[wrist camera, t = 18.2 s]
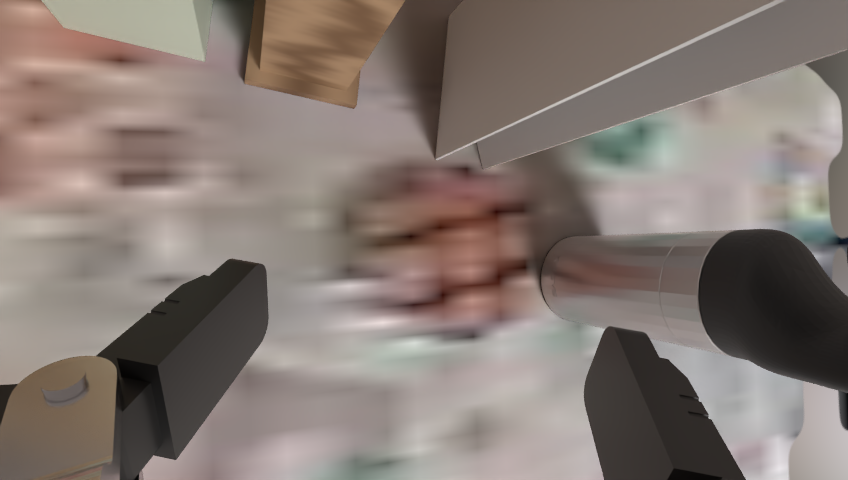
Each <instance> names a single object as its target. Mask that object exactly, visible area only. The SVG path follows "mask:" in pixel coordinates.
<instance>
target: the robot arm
mask: <svg viewBox="0 0 848 480" xmlns="http://www.w3.org/2000/svg"><path fill="white" fill-rule="evenodd" d="M847 261H848V247H847ZM541 286H542V291H543V295H544V298H545V300H546V302H547V304H548V306H549V307H550V309H551V310H552V311H553V312H554V313H555V314H556V315H558V316H559V317H561V318H562V319H566V320H569V321H573V322H578V323H582V324H587V325H591V326H595V327H599V328H604V329H605V331H604V333H603V335H602V338H601V340H600V343H599V345H598V348H597V351H596V353H595V356H594V359H593V361H592V364H591V367H590V369H589V372H588V374H587V377H586V381H585V387H584V402H585V407H586V411H587V415H588V419H589V422H590V426H591V430H592V434H593V438H594V442H595V446H596V449H597V453H598V457H599V461H600V465H601V469H602V472H603V476H604V480H746V479H745V477H744V476H743V474H742V472H741V470H740V469H739V467H738V465H737V463H736V462H735V460H734V458H733V456H732V455H731V453H730V451H729V450H728V448H727V446H726V444H725V443H724V441H723V439H722V437H721V436H720V434H719V432H718V430H717V429H716V427H715V425H714V423H713V422H712V420H711V419H708V413H707V411H706V410H705V408H704V406H703V404H702V403H701V402H699V401H698V399H699V397H698V396H697V394H696V392H695V390H694V389H693V387H692V385H691V384H690V382H689V380H688V378H687V377H686V376H685V375H684V374H683V373H682V372H681V371H680V370H678V369H677V368H676V367H675V366H674V365H673V364H672V363H671V362H670V361H669V360H668V359H664V358H659V356H658V354H657V352H656V350H655V348H654V346H653V344H652V343H651V341H650V339H654V340H659V341H663V342H668V343H673V344H677V345H682V346H686V347H691V348H696V349H701V350H705V351H710V352H715V353H719V354H724V355H728V356H733V357H736V358H741V359H745V360H749V361H751V362H753V363H755V364H756V365H758V366H760V367H762V368H764V369H766V370H768V371H771V372H774V373H777V374H780V375H783V376H787V377H790V378H794V379H798V380H802V381H806V382H810V383H813V384H817V385H821V386H825V387H828V388H832V389H835V390H839V391H842V392H846V393H848V297H847V296H846V295H845V294H844V293H843V292H842V291H841V290H840V289H839V288H838V287H837V286H836V285H835V284H834V283H833V282H832V280H831V279H830V278H829V277H828V275H827V274H826V273H825V271H824V270H823V268H822V267H821V266H820V264H819V263H818V261H817V260H816V259H815V257H814V255H813V254H812V253H811V252H810V250H809V249H808V248H807V247H806V246H805V245H804V244H803V243H802V242H801V241H799V240H798V239H797V238H795V237H794V236H792V235H790V234H788V233H785V232H782V231H778V230H772V229H752V230H729V231H703V232H681V233H655V234H628V235H597V236H574V237H568V238H565V239H562V240H561V241H559V242H558V243H557V244H555V245H554V246H553V248H552V249H551V250H550V251H549V253H548V255H547V256H546V258H545V261H544V264H543V267H542V273H541ZM267 326H268V297H267V275H266V269H265V266H264V265H263V264H259V263H254V262H248V261H242V260H236V259H229V260H227V261H226V262H225V263H224V264H222V265H221V266H220V267H219V268H218V269H217V270H216V271H214V272H213V273H212V274H211V275H210V276H206V275H203V276H201V277H199V278H196V279H194V280H192V281H190V282H187V283H185V284H183V285H181V286H180V287H179V288H177V289H176V290H175V291H174V292H173V293H171V294H170V295H169V296H168V297H167V298H165V301H164V302H161V303H159V304H158V305H157V306H156V307H154V308H153V309H152V310H151V313H147V314H146V315H145V316H144V317H142V318H141V319H140V320H139V321H138V322H136V323H135V324H134V325H133V326H132V327H130V328H129V329H128V330H127V331H126V332H124V333H123V334H122V335H121V336H120V337H118V338H117V339H116V340H115V341H114V342H112V343H111V344H110V345H109V346H107V347H106V348H105V349H104V350H103V351H101V352H100V353H99V354H98V355H97V356H79V357H73V358H68V359H64V360H60V361H57V362H54V363H52V364H49V365H47V366H44V367H42V368H41V369H39V370H37V371H35V372H33V373H32V374H30V375H29V376H27V377H26V378H25V379H23V380H22V381H21V382H20V383H19V384H12V385H0V480H144V478H143V472H142V469H143V468H144V466H145V465H146V464H147V463H148V461H149V460H150V459H151V457H152V456H153V455H155V456H159V457H164V458H169V459H174V460H176V459H177V458H178V457H179V455H180V454H181V452H182V451H183V450H184V448H185V447H186V446H187V444H188V443H189V441H190V440H191V439H192V437H193V436H194V435H195V433H196V432H197V430H198V429H199V428H200V426H201V425H202V424H203V422H204V421H205V419H206V418H207V417H208V415H209V414H210V413H211V411H212V410H213V408H214V407H215V406H216V404H217V403H218V402H219V400H220V399H221V397H222V396H223V395H224V393H225V392H226V390H227V389H228V388H229V386H230V385H231V384H232V382H233V381H234V379H235V378H236V377H237V375H238V374H239V373H240V371H241V370H242V368H243V367H244V366H245V364H246V363H247V362H248V360H249V359H250V357H251V356H252V355H253V353H254V352H255V351H256V349H257V348H258V346H259V345H260V344H261V342H262V340H263V338H264V336H265V333H266V330H267ZM649 338H650V339H649Z"/></svg>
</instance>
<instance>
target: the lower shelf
mask: <svg viewBox="0 0 848 480" xmlns="http://www.w3.org/2000/svg"><path fill="white" fill-rule="evenodd" d="M42 2H43V3H44V4H45V5H46V6H47V8H48V9H49V10H50V11H51V13H52V14H53V15H54V16H55V18H56V19H57V20H58V21H59V22H60V24H61V25H62V26H63V27H64V28H67V29H71V30H75V31H79V32H83V33H88V34H92V35H96V36H100V37H104V38H108V39H113V40H117V41H121V42H125V43H129V44H133V45H138V46H142V47H146V48H150V49H154V50H158V51H163V52H167V53H171V54H175V55H179V56H183V57H188V58H192V59H196V60H200V61H204V62H205V59H206V51H207V44H208V36H209V28H210V21H211V13H212V5H213V0H42Z"/></svg>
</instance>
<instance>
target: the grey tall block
mask: <svg viewBox="0 0 848 480" xmlns="http://www.w3.org/2000/svg"><path fill="white" fill-rule="evenodd" d="M846 50H848V0H463V1H462V2H461V3H460V4H459V6H458V7H457V8H456V9H455V10H454V11H453V12H452V13H451V15H450V16H449V20H448V31H447V41H446V52H445V62H444V73H443V83H442V94H441V104H440V114H439V125H438V135H437V146H436V156H435V159H436V160H439V159H441V158H443V157H445V156H447V155H450V154H452V153H454V152H456V151H458V150H461V149H463V148H465V147H467V146H469V145H471V144H474V143H476V142H477V146H478V150H479V155H480V160H481V164H482V169H488V168H491V167H494V166H497V165H500V164H503V163H506V162H509V161H512V160H515V159H518V158H521V157H524V156H527V155H530V154H533V153H536V152H539V151H542V150H545V149H548V148H551V147H554V146H557V145H560V144H564V143H567V142H570V141H573V140H576V139H579V138H582V137H585V136H588V135H591V134H594V133H597V132H600V131H603V130H606V129H609V128H612V127H615V126H618V125H621V124H624V123H627V122H630V121H633V120H636V119H639V118H642V117H645V116H648V115H651V114H655V113H658V112H661V111H664V110H667V109H670V108H673V107H676V106H679V105H682V104H685V103H688V102H691V101H694V100H697V99H700V98H703V97H706V96H709V95H712V94H715V93H718V92H721V91H724V90H727V89H730V88H733V87H736V86H739V85H743V84H746V83H749V82H752V81H755V80H758V79H761V78H764V77H767V76H770V75H773V74H776V73H779V72H782V71H785V70H788V69H791V68H794V67H797V66H800V65H803V64H806V63H809V62H812V61H815V60H818V59H821V58H824V57H827V56H830V55H834V54H836V53H840V52H843V51H846Z"/></svg>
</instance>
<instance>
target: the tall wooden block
mask: <svg viewBox="0 0 848 480" xmlns="http://www.w3.org/2000/svg"><path fill="white" fill-rule="evenodd" d="M404 2H405V0H255V1H254V9H253V17H252V25H251V33H250V41H249V49H248V57H247V65H246V73H245V84H249V85H253V86H257V87H262V88H266V89H270V90H275V91H279V92H283V93H288V94H292V95H297V96H301V97H305V98H310V99H314V100H318V101H323V102H327V103H331V104H336V105H340V106H344V107H349V108H353V109H354V108H355V107H356V105H357V96H358V87H359V78H360V69H361V68H362V66H363V65H364V63H365V62H366V60H367V59H368V57H369V56H370V54H371V53H372V51H373V50H374V48H375V46H376V45H377V43H378V42H379V40H380V39H381V37H382V36H383V34H384V33H385V31H386V30H387V28H388V26H389V25H390V23H391V22H392V20H393V19H394V17H395V16H396V14H397V13H398V11H399V10H400V8H401V6H402V5H403V3H404Z"/></svg>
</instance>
